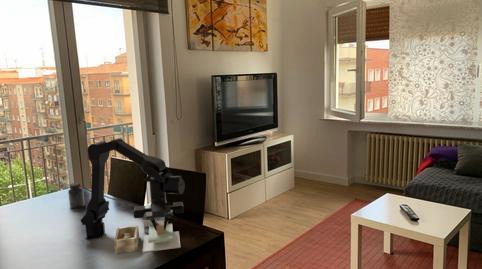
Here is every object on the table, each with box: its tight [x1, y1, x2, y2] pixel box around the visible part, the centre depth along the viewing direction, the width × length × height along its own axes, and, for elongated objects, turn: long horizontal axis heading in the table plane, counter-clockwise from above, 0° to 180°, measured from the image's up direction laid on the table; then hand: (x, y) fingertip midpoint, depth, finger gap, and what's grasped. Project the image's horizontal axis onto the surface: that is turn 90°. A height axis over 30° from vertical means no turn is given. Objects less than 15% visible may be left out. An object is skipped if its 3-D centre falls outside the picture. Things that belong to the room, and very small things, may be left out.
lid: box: [148, 220, 174, 243], centre depth 144 cm, size 9×13×6 cm
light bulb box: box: [142, 200, 169, 234], centre depth 157 cm, size 11×7×11 cm, turn 168°
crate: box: [113, 224, 140, 254], centre depth 143 cm, size 8×12×5 cm, turn 12°
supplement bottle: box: [67, 182, 85, 210], centre depth 186 cm, size 7×7×12 cm
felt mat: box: [142, 230, 182, 253], centre depth 145 cm, size 14×14×1 cm
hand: (160, 230), depth 144 cm, fingers closed on lid, 3 cm apart
